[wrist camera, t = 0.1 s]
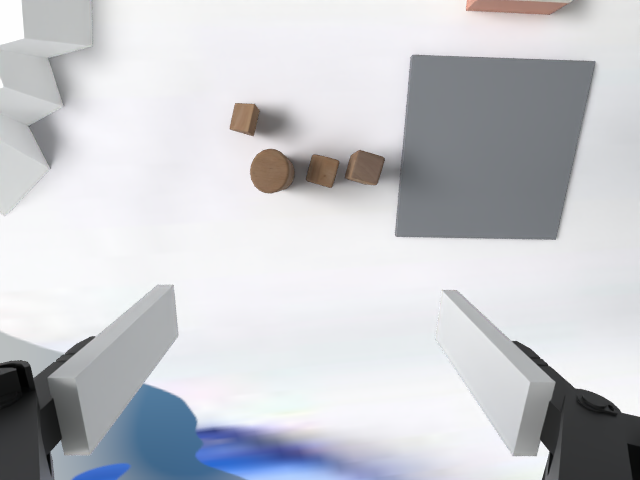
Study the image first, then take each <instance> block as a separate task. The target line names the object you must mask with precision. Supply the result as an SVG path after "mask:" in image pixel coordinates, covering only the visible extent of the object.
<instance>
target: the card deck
mask: <svg viewBox="0 0 640 480" xmlns="http://www.w3.org/2000/svg"><path fill="white" fill-rule="evenodd" d="M572 1H574V0H467V5H466V11H487V12H507V13H527V14H547V15H550V14H552V13H553V12H555V11H557V10H558V9H560V8H562V7H563V6H565V5H567V4H569V3H570V2H572Z"/></svg>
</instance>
